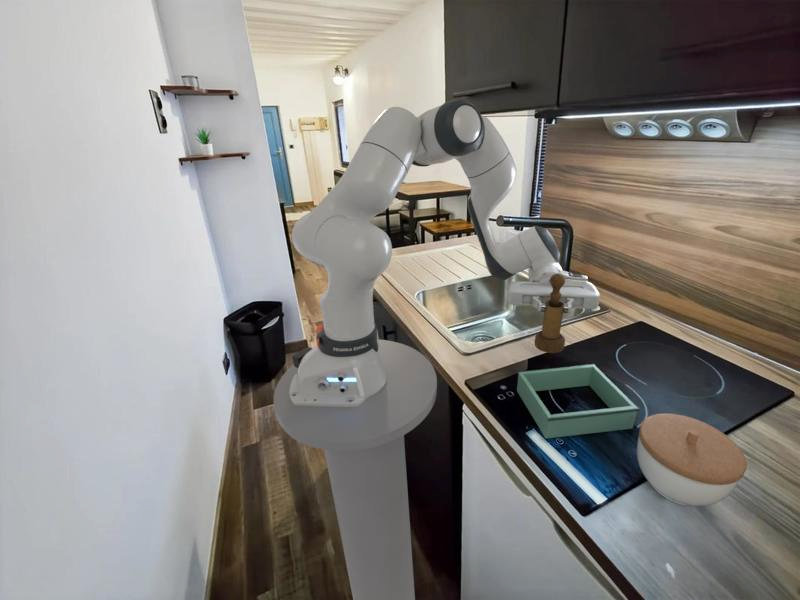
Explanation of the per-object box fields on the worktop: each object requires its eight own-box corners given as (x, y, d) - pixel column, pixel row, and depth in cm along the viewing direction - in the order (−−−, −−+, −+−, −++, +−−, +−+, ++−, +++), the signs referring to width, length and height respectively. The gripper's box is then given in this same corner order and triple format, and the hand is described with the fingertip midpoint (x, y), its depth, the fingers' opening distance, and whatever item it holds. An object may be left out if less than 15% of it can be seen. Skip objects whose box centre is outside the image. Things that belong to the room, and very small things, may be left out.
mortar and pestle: (557, 356, 82) (567, 282, 74) (529, 347, 86) (536, 276, 78) (568, 344, 86) (579, 272, 78) (541, 335, 90) (549, 267, 82)
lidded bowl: (642, 441, 66) (657, 392, 61) (733, 484, 57) (758, 431, 52) (616, 485, 58) (631, 433, 54) (716, 542, 50) (744, 486, 45)
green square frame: (545, 439, 67) (548, 418, 65) (515, 390, 80) (517, 371, 78) (633, 429, 68) (639, 408, 66) (590, 382, 81) (594, 363, 79)
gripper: (506, 272, 94) (507, 294, 82) (593, 275, 89) (607, 299, 77) (505, 294, 97) (505, 318, 85) (589, 299, 92) (602, 325, 80)
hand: (554, 309), depth 81 cm, fingers closed on mortar and pestle, 4 cm apart
